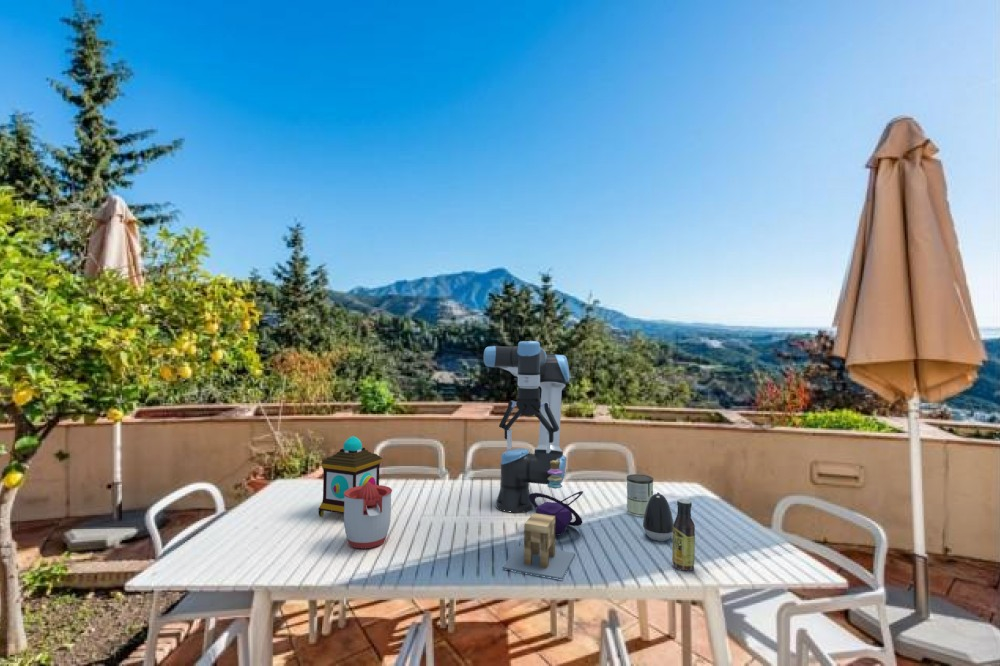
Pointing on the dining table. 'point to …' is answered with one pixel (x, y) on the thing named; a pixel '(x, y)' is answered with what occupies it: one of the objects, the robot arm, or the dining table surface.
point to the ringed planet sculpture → (557, 509)
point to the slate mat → (554, 569)
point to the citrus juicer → (367, 515)
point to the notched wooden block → (539, 538)
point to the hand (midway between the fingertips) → (528, 450)
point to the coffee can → (638, 493)
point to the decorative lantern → (347, 474)
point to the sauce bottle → (683, 537)
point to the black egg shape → (658, 518)
